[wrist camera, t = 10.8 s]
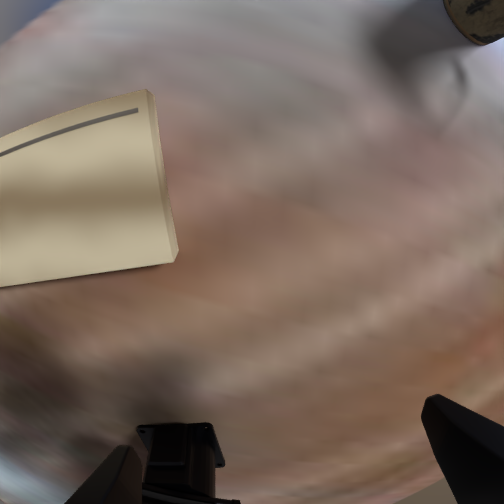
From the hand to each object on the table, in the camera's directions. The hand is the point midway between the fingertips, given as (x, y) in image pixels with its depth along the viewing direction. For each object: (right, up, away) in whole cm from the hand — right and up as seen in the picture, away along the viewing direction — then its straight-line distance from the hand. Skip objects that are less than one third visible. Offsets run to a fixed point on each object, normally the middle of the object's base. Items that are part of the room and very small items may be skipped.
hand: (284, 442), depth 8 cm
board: (-18, +8, +9) cm, 21 cm away
